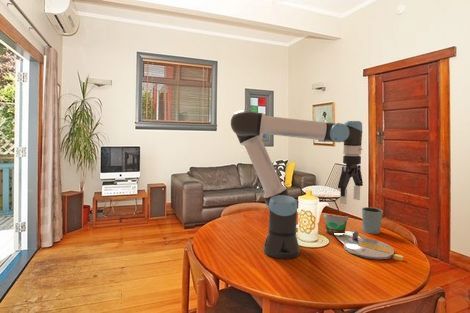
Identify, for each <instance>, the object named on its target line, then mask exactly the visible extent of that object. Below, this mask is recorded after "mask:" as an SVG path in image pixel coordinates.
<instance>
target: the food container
mask: <svg viewBox="0 0 470 313" xmlns="http://www.w3.org/2000/svg"><path fill="white" fill-rule="evenodd" d="M323 218H324V222H325V225H324V226H325V233H326V234H327V235H331V236H334V233H345V234H346V229H347V223H348V221H349V216H348V215H346V216H341V215H337V214H327V213H324V214H323Z"/></svg>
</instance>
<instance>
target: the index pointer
mask: <svg viewBox="0 0 470 313" xmlns="http://www.w3.org/2000/svg"><path fill="white" fill-rule="evenodd" d="M392 259H394V260H396V261H400V262H402V261H403V260H404V256H403V255H401V254H396V253H395V254H394V256H393V257H392Z"/></svg>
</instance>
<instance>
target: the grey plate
mask: <svg viewBox="0 0 470 313" xmlns="http://www.w3.org/2000/svg"><path fill="white" fill-rule="evenodd" d="M343 248H344V250H345V251H347V252H348V253H349V254H351V255H355V256H357V257H361V258H365V259H370V260H379V261H380V260H389V259H393V258H394V252H395V250H394V248H393V247H392V246H391V245H390V244H388V243H386V242H383V241H380V240H377V239H371V238H366V237H359V231H356V230H354V231H352V237H351V238H350V237H349V238H346V239H345V240H344V241H343Z"/></svg>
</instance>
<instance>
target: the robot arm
mask: <svg viewBox="0 0 470 313" xmlns="http://www.w3.org/2000/svg"><path fill="white" fill-rule="evenodd" d="M230 119H231V120H230V127H231V129H232V131H233V132H234V133H235V136H236V137H237V139H238V141H239V144H240V145H242V146H244V147H245V149H246V153H247V154H248V156H249V159H250V161H251V163H252V166H253V168H254V170H255V173H256V175H257V177H258V180H259V182H260V185H261V187H262V189H263V191H264V194H263V199H264V201H265V205H266V206H267V208H268V233H267V236H266V238H265V242H264V245H263V252H264V254H265V255H267V256H268V257H271V258H275V259H280V260H289V259H291V260H292V259H295V258H297V257H299V256H300V250H301V249H300V245H299V241H298V238H297V223H298V222H297V218H298V216H297V215H298V202H297V199H295V198H294V197H293V196H291V195H290V193H289V191H288V189H287V187H286V186H284V185H282V183H281V180H280V178H279V176H278V174H277V171H276V169H275V167H274V164H273V162H272V160H271V158H270V155H269V152H268V150H267V149H266V146H265V143H264V141H263V136H264V135H271V136H272V135H273V136H280V137H289V138H298V139H309V140H315V141H318V142H322V143H326V142H327V143H329V142H330V143H343V150H342V151H343V152H342V154H343V156H342V163H343V165H344V164H345V166H342V167H341V173H340V176H339V180H338V181H339V182H338V184H337V188H338V189H340V192H339V193H340V195H339V197H340V198H339V204H341V205H342V204H343V205H347V203H348V189H347V188H348V185H349V182H350V180H351V178H352V179H353V183H354V186H353V198H352V199H353V200H356V201H357V200H358V201H360V200H361V187H363V186H364V184H363V177H362V171H361V167H362V166H361V162H362V156H361V154H362V151H363V148H362V143H363V142H362V140H363V123H362V122H361V121H359V120H346V121H344V123H340V122H337V123H333V122H326V121H325V122H324V121H316V120H315V121H314V120H306V119H299V118H287V117H278V116H271V115H266V114H264V113H263V112H257V111H256V112H255V111H252V110H248V109H241V110H237V111H236V112H234V114H233V115H232V116H231V118H230Z"/></svg>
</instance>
